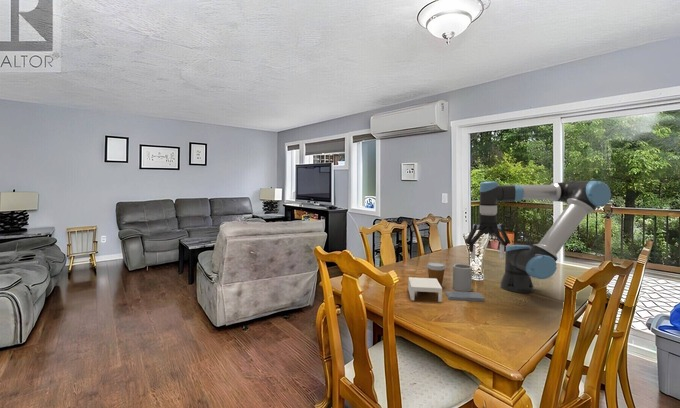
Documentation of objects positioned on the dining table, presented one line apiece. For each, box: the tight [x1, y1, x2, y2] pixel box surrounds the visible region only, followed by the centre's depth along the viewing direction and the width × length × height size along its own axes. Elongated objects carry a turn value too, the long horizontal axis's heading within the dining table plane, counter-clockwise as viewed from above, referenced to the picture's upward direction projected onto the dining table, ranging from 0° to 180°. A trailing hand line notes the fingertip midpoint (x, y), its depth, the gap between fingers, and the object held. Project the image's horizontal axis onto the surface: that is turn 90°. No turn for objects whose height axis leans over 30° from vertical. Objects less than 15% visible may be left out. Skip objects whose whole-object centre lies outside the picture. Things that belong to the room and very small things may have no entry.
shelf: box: [407, 276, 443, 303], centre depth 156 cm, size 14×15×6 cm
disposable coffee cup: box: [426, 261, 447, 288], centre depth 170 cm, size 10×10×12 cm
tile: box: [445, 290, 486, 303], centre depth 154 cm, size 16×8×2 cm, turn 84°
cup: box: [452, 263, 473, 292], centre depth 166 cm, size 9×9×12 cm
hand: (487, 258), depth 152 cm, fingers open, 13 cm apart
